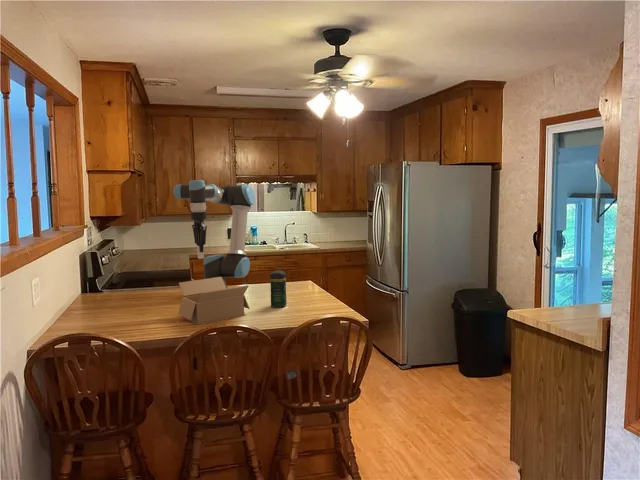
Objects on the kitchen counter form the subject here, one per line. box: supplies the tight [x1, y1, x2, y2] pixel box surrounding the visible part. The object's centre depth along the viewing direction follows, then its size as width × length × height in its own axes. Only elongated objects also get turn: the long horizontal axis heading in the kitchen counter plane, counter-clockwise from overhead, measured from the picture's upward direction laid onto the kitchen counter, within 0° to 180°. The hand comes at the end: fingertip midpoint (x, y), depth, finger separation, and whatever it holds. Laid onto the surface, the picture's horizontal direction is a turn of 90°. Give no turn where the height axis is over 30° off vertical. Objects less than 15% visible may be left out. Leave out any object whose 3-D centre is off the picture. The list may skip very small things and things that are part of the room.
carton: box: [177, 294, 250, 326], centre depth 248 cm, size 16×31×10 cm, turn 127°
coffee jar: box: [269, 269, 288, 309], centre depth 265 cm, size 10×8×19 cm
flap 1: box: [178, 277, 226, 297], centre depth 256 cm, size 1×23×8 cm
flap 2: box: [199, 284, 249, 303], centre depth 237 cm, size 1×23×8 cm
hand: (201, 258), depth 256 cm, fingers closed
